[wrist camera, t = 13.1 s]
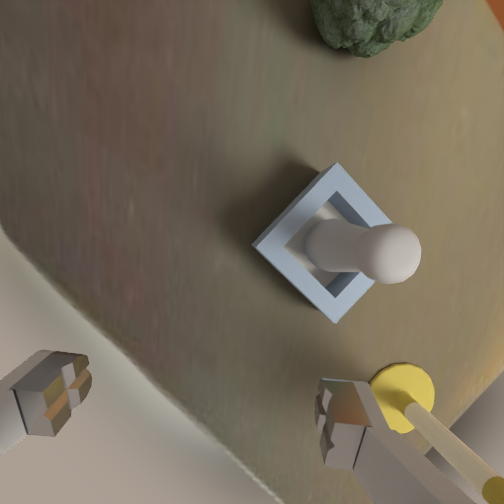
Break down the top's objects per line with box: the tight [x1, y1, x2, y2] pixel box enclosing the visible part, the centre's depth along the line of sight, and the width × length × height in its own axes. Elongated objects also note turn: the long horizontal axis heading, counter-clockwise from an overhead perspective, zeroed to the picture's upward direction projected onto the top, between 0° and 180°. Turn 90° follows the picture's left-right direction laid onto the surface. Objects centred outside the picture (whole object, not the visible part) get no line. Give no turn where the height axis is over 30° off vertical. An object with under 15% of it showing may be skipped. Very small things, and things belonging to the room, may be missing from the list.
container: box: [251, 162, 392, 324], centre depth 28 cm, size 12×12×4 cm
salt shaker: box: [305, 218, 422, 284], centre depth 23 cm, size 6×6×13 cm
